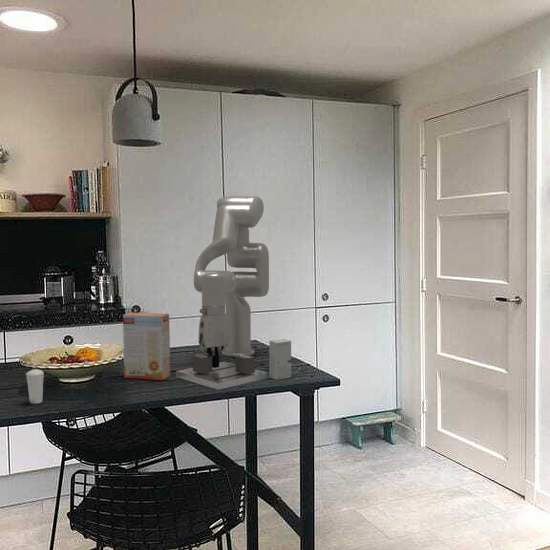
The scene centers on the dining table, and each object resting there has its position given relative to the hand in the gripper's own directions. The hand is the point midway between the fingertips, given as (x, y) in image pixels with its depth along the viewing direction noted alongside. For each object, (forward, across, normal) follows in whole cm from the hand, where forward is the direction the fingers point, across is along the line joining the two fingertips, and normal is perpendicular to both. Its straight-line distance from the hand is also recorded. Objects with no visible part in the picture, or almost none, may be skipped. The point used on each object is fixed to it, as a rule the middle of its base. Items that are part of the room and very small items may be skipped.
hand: (214, 366), depth 200 cm
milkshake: (+4, -54, +11) cm, 56 cm away
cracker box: (+3, -16, +14) cm, 22 cm away
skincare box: (+3, +14, -16) cm, 22 cm away
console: (+3, +1, -3) cm, 4 cm away
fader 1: (+1, -5, 0) cm, 5 cm away
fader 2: (+1, +5, -10) cm, 11 cm away
